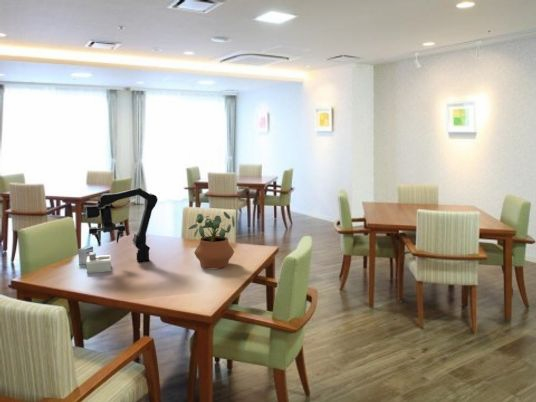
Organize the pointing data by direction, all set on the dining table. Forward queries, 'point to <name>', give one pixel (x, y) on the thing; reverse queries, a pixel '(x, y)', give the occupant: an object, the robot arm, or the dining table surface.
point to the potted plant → (213, 243)
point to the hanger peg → (92, 256)
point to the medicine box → (84, 254)
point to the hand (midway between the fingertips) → (108, 244)
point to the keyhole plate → (99, 264)
